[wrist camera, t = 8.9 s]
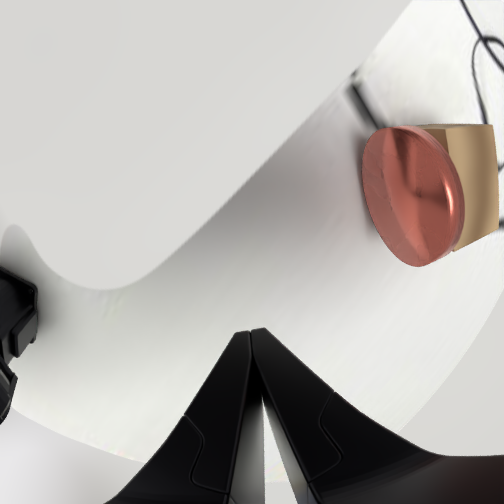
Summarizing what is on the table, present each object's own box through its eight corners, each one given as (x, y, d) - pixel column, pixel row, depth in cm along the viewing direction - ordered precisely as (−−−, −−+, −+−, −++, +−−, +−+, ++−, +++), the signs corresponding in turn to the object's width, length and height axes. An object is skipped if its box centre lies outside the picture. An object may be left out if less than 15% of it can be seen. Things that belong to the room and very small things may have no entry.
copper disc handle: (371, 242, 22) (445, 289, 13) (352, 130, 18) (436, 125, 10) (457, 210, 22) (527, 237, 14) (447, 118, 19) (524, 120, 11)
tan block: (398, 225, 22) (453, 251, 16) (383, 130, 19) (445, 128, 13) (444, 209, 22) (498, 228, 16) (433, 124, 20) (492, 124, 13)
